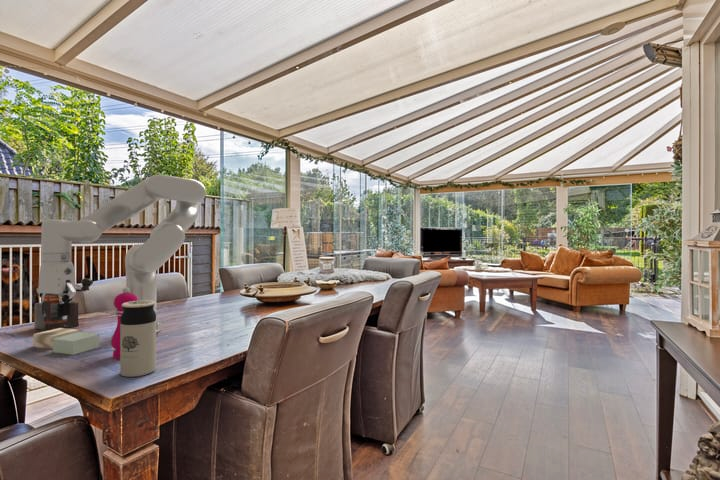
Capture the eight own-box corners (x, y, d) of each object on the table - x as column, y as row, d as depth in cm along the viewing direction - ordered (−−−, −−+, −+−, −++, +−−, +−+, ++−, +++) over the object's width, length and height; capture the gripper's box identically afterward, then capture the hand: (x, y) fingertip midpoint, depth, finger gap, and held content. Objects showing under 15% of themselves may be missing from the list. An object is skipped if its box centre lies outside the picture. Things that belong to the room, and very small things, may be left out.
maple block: (78, 342, 123) (78, 329, 123) (52, 349, 115) (52, 336, 115) (60, 339, 125) (60, 327, 125) (33, 346, 117) (33, 333, 117)
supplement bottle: (71, 321, 121) (72, 286, 121) (49, 325, 116) (50, 289, 115) (60, 319, 123) (61, 285, 123) (39, 323, 118) (39, 287, 118)
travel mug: (139, 365, 102) (139, 299, 102) (162, 368, 100) (163, 301, 100) (112, 375, 95) (112, 304, 94) (137, 379, 92) (137, 306, 92)
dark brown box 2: (46, 332, 133) (46, 282, 133) (33, 328, 139) (33, 279, 139) (95, 323, 147) (95, 277, 146) (81, 320, 152) (81, 276, 152)
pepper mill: (118, 361, 105) (119, 290, 104) (106, 356, 109) (106, 287, 108) (145, 354, 111) (145, 287, 111) (132, 350, 115) (132, 285, 114)
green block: (98, 346, 118) (98, 334, 118) (73, 354, 110) (73, 341, 110) (79, 344, 120) (79, 332, 120) (53, 352, 112) (53, 338, 112)
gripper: (88, 258, 121) (88, 314, 121) (49, 256, 125) (48, 310, 125) (64, 260, 113) (64, 319, 114) (23, 258, 118) (23, 315, 118)
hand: (55, 314), depth 120 cm, fingers closed on supplement bottle, 6 cm apart
